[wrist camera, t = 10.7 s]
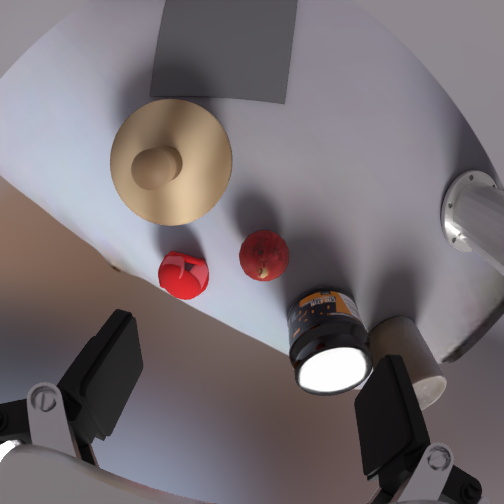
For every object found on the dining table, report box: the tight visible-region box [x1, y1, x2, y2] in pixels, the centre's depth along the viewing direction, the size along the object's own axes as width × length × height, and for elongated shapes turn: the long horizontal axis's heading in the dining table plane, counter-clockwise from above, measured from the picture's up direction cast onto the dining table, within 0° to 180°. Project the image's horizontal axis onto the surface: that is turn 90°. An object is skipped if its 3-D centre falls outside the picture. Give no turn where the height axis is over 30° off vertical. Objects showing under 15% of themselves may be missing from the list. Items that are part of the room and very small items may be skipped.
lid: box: [110, 99, 232, 226], centre depth 24 cm, size 13×13×5 cm
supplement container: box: [287, 287, 373, 396], centre depth 35 cm, size 10×10×12 cm
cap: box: [158, 251, 209, 300], centre depth 36 cm, size 8×6×6 cm
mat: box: [150, 0, 297, 104], centre depth 25 cm, size 16×15×1 cm
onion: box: [239, 230, 289, 281], centre depth 33 cm, size 6×6×8 cm
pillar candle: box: [369, 316, 447, 410], centre depth 35 cm, size 10×10×15 cm
